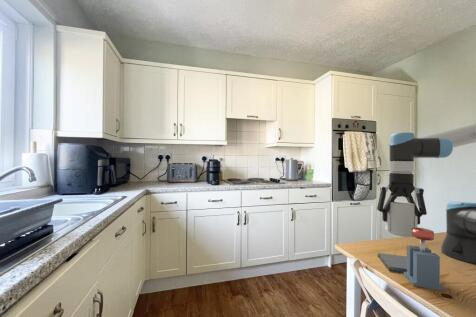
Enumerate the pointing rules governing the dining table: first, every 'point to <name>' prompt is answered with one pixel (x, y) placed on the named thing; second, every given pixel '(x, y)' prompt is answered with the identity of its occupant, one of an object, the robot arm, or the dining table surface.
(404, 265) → the press bed
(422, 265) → the press frame
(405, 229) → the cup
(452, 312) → the dining table surface
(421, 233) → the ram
